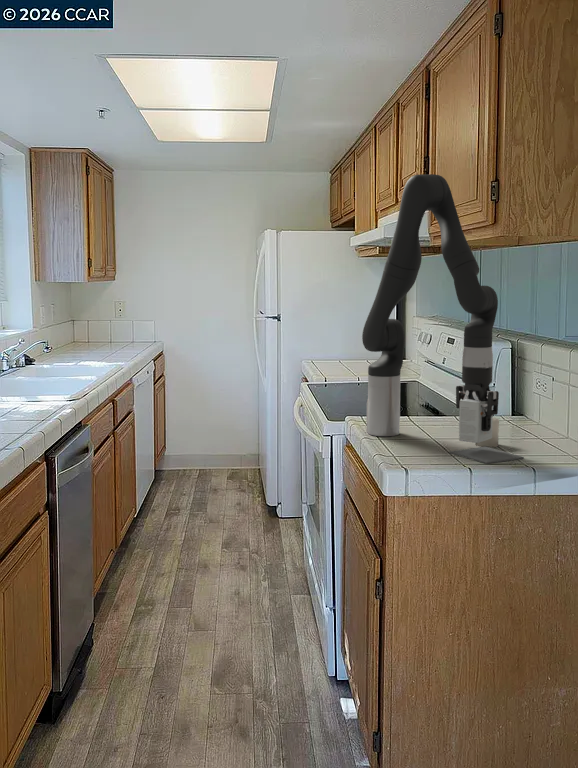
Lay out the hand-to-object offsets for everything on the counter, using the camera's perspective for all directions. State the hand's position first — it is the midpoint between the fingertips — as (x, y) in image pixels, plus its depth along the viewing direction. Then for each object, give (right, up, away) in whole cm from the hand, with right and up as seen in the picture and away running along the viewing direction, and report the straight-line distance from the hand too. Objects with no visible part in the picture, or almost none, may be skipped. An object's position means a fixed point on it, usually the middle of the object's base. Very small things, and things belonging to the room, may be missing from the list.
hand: (475, 428), depth 200 cm
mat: (+2, -7, -3) cm, 7 cm away
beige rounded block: (+5, -5, +10) cm, 13 cm away
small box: (0, -3, 0) cm, 3 cm away
